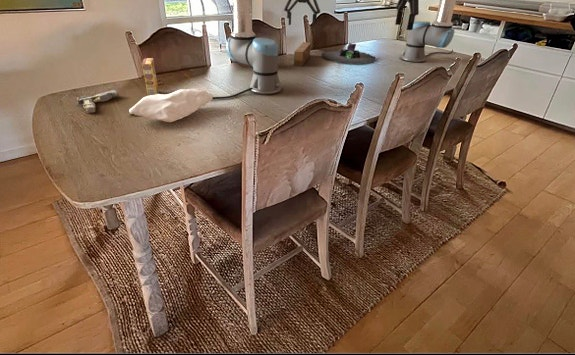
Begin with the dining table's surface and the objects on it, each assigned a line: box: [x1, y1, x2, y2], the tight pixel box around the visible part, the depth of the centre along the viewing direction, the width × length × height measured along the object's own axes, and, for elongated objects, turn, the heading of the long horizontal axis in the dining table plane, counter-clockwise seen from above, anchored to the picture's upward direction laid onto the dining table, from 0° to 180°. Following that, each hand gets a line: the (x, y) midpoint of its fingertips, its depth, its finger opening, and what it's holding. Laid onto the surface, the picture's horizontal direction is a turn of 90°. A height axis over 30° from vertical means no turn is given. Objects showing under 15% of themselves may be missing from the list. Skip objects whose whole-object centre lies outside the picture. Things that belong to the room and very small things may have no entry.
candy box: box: [141, 57, 160, 96], centre depth 163 cm, size 9×4×15 cm, turn 13°
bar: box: [293, 41, 312, 67], centre depth 224 cm, size 26×5×8 cm, turn 166°
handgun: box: [76, 89, 120, 114], centre depth 155 cm, size 3×18×15 cm
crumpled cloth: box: [129, 88, 214, 123], centre depth 147 cm, size 24×35×9 cm
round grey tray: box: [321, 42, 377, 64], centre depth 234 cm, size 35×35×9 cm
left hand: (301, 25), depth 207 cm, fingers open, 13 cm apart
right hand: (403, 27), depth 184 cm, fingers open, 13 cm apart
